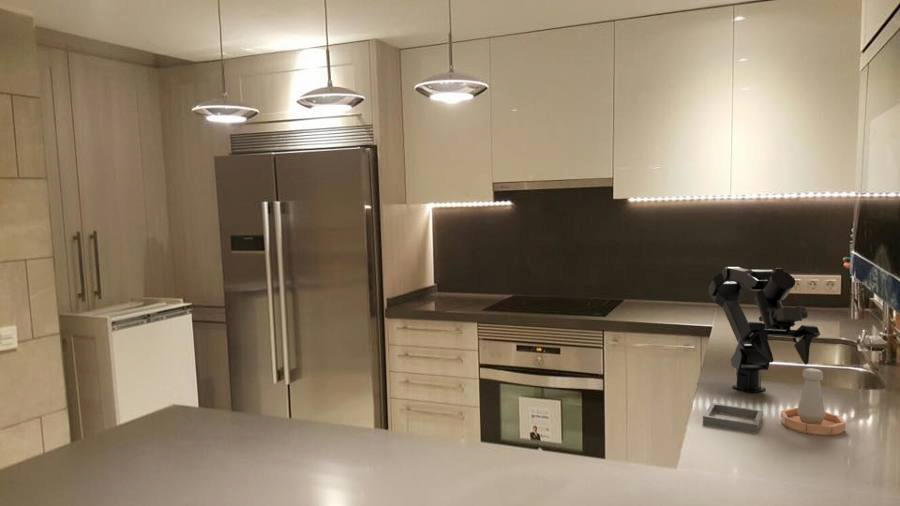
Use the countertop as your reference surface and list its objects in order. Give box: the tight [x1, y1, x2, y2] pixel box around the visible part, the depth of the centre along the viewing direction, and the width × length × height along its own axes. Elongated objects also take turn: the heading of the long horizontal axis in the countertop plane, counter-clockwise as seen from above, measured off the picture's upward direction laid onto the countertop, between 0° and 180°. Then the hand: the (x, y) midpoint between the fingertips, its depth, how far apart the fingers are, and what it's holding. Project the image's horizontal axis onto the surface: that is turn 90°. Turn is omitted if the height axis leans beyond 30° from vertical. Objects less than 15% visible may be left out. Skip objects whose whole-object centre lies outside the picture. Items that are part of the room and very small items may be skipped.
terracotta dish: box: [779, 407, 847, 437], centre depth 151 cm, size 13×13×2 cm
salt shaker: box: [797, 367, 826, 425], centre depth 151 cm, size 6×6×13 cm
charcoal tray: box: [702, 402, 764, 434], centre depth 155 cm, size 12×12×2 cm
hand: (789, 362), depth 159 cm, fingers open, 9 cm apart
